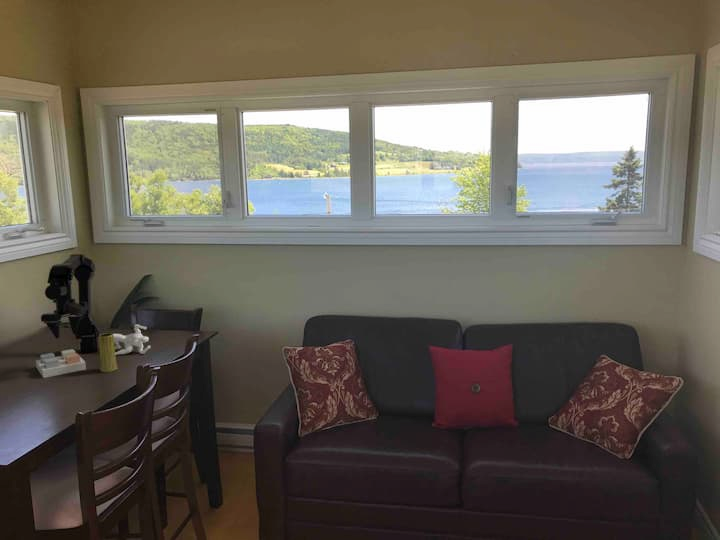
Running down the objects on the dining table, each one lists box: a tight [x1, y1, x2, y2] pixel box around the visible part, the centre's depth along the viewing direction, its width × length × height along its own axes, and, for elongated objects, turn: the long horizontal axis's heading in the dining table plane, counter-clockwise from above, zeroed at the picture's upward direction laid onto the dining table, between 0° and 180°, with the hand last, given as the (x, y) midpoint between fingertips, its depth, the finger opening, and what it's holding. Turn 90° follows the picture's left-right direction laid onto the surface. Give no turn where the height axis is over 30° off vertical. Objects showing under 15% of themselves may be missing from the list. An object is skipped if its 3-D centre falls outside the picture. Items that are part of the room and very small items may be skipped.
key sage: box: [60, 348, 77, 360], centre depth 229 cm, size 4×4×3 cm
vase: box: [98, 332, 118, 373], centre depth 221 cm, size 6×6×14 cm
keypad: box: [35, 355, 87, 379], centre depth 224 cm, size 15×15×3 cm
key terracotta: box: [65, 352, 81, 364], centre depth 223 cm, size 4×4×3 cm
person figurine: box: [112, 323, 151, 356], centre depth 245 cm, size 13×13×18 cm
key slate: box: [39, 352, 56, 364], centre depth 224 cm, size 4×4×3 cm
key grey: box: [44, 356, 59, 369], centre depth 219 cm, size 4×4×3 cm
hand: (66, 336), depth 221 cm, fingers open, 9 cm apart
